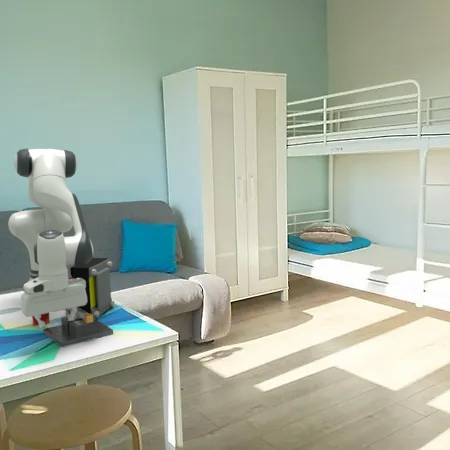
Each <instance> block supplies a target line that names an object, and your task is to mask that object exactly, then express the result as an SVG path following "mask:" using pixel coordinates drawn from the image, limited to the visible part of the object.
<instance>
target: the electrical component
mask: <svg viewBox="0 0 450 450" xmlns="http://www.w3.org/2000/svg"><path fill="white" fill-rule="evenodd" d="M110 260H111V259H110V258H108V257H93V258H92V259H91V261H90V262H88V263H87V264H86V265H72V266H71V267H70V268H69V271H70V276H71V277H68V279H76V278H82V279H84V280H85V282H86V288H85V290H86V294H87V303H86V305H84V306H79V307H78V308H80V309H82V310H84V311H85V312H87V313H89V314H90V313H91V314H93V318H94V319H95V320H96V318H99V317H100V316H101V315H102V314H104V313H105V312H106V311H108V310H109V309H111V308H112V307H114V306H115V301H114V300H113V298H112V292H111V291H112V290H111V275H110V274H111V271H110V268H111V267H113V262H112V260H111V261H110Z"/></svg>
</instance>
